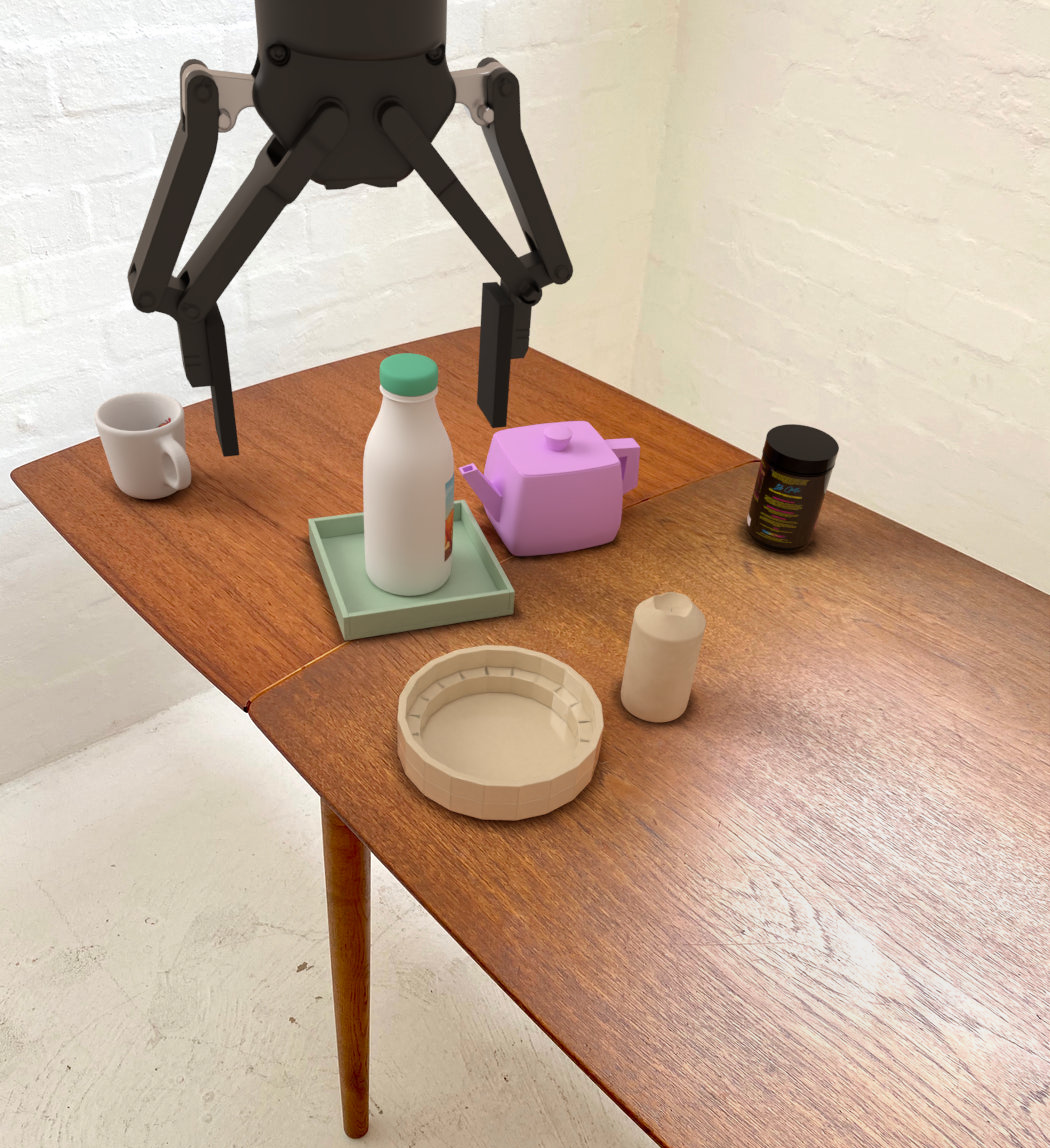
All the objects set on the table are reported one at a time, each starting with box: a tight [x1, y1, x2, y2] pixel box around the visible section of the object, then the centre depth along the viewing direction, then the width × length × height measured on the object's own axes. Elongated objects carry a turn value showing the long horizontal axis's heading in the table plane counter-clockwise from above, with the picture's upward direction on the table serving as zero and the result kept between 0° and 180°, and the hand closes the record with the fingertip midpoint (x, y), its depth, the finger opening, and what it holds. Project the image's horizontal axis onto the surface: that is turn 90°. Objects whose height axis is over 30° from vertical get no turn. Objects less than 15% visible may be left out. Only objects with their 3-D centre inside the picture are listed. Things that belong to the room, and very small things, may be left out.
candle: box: [620, 591, 707, 723], centre depth 87 cm, size 6×6×10 cm
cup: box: [94, 391, 192, 500], centre depth 105 cm, size 11×8×8 cm
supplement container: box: [745, 423, 840, 554], centre depth 106 cm, size 7×7×10 cm
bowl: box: [396, 644, 605, 821], centre depth 84 cm, size 15×15×4 cm
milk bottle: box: [362, 352, 455, 596], centre depth 93 cm, size 8×8×20 cm
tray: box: [307, 499, 516, 642], centre depth 99 cm, size 15×15×2 cm
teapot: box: [458, 420, 641, 557], centre depth 105 cm, size 18×10×10 cm, turn 111°
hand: (364, 429), depth 56 cm, fingers open, 13 cm apart
